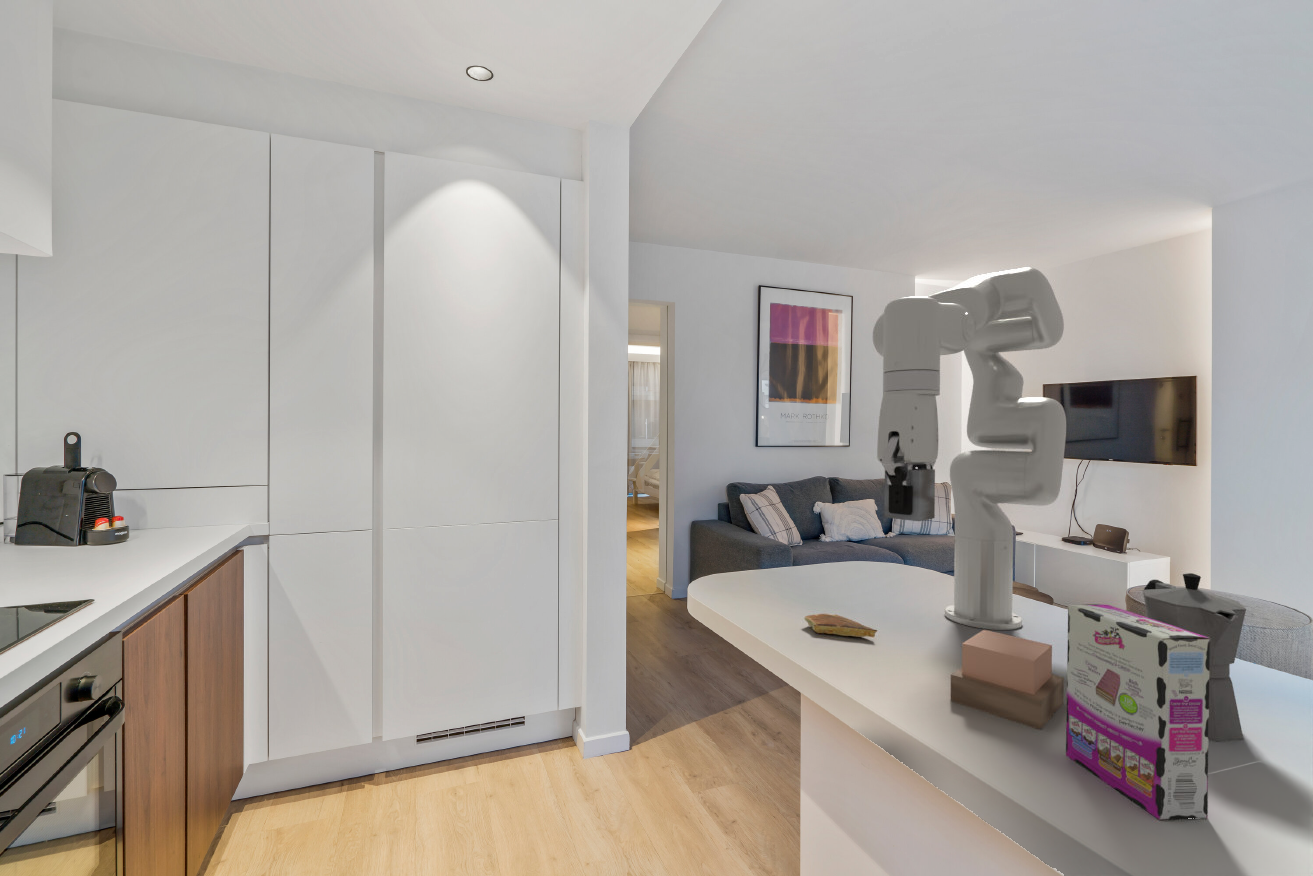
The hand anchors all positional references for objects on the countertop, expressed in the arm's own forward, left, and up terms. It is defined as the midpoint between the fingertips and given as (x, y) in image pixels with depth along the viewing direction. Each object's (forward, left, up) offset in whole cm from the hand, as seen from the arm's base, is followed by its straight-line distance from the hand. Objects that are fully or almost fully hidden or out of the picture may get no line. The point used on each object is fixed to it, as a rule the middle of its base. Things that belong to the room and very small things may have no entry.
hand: (909, 510), depth 85 cm
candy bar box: (+11, +27, -24) cm, 37 cm away
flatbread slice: (-12, -13, -25) cm, 30 cm away
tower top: (0, +13, -20) cm, 24 cm away
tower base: (0, +13, -24) cm, 27 cm away
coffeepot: (-11, +29, -24) cm, 39 cm away
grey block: (0, 0, -1) cm, 1 cm away
